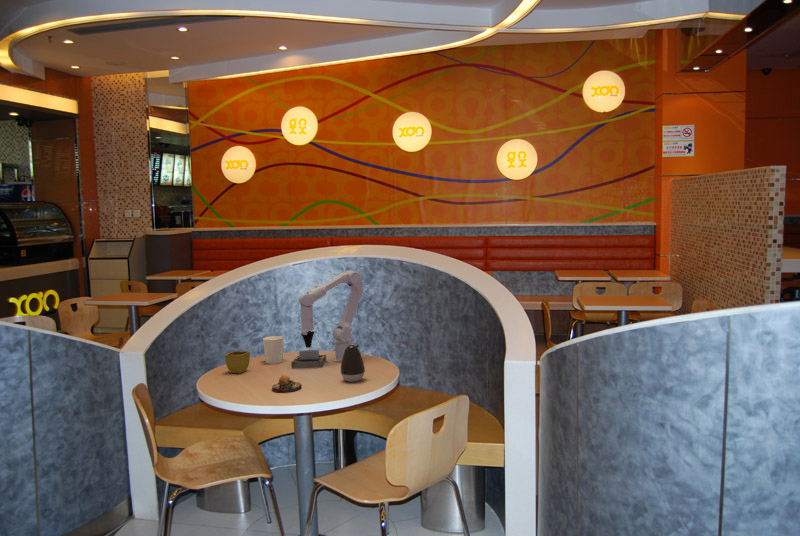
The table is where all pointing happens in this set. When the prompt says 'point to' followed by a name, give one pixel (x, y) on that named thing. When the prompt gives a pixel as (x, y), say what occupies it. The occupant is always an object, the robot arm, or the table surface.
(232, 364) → the flower pot
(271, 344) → the candle holder
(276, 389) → the plate of food
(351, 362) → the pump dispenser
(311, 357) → the panel
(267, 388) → the table surface
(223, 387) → the table surface
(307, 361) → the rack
